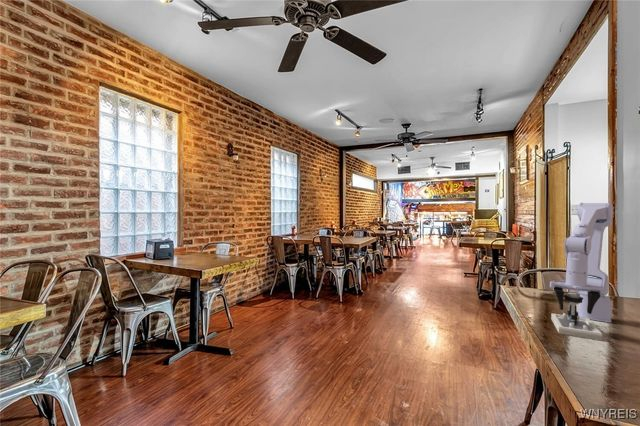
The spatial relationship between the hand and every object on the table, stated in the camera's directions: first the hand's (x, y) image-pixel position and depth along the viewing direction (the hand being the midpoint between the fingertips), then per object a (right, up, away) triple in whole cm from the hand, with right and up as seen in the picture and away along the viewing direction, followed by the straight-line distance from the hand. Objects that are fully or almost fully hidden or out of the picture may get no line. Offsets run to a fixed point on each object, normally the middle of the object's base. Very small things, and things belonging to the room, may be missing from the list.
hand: (575, 311), depth 112 cm
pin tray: (0, -6, 0) cm, 6 cm away
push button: (0, -5, +1) cm, 5 cm away
